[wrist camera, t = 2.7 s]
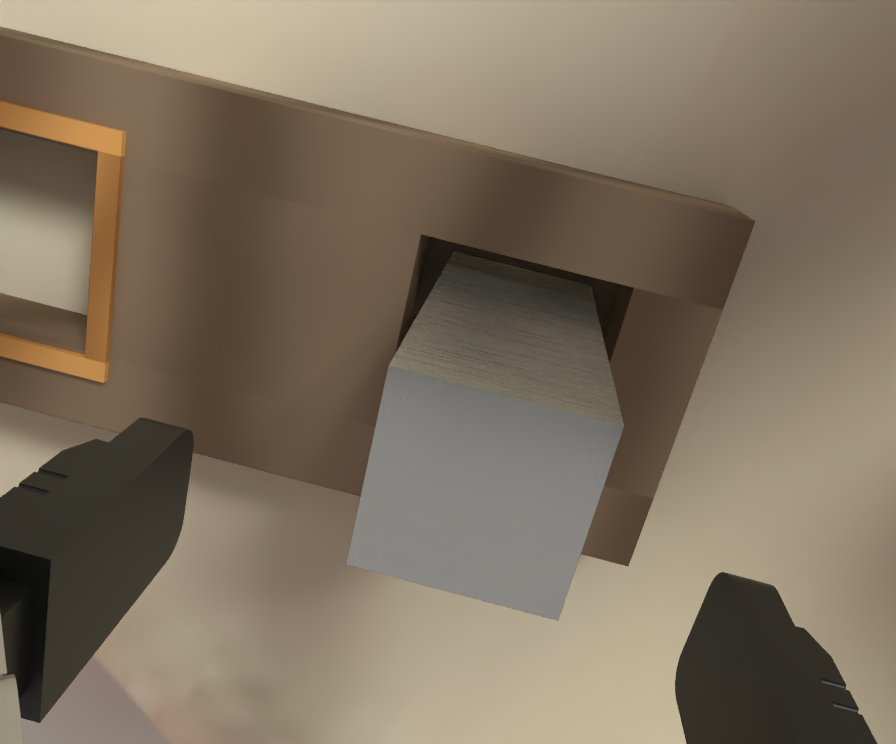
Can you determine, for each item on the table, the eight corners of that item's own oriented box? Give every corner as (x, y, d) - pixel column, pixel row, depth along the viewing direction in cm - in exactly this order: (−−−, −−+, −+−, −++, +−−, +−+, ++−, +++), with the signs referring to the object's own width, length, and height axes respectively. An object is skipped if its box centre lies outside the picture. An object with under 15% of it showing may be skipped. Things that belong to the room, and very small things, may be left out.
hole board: (731, 207, 21) (757, 222, 19) (620, 521, 25) (628, 570, 22) (-116, -3, 22) (-202, -15, 19) (-106, 332, 25) (-178, 358, 23)
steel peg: (590, 285, 22) (624, 426, 13) (552, 411, 24) (557, 620, 14) (453, 251, 22) (388, 365, 13) (424, 378, 24) (346, 564, 14)
